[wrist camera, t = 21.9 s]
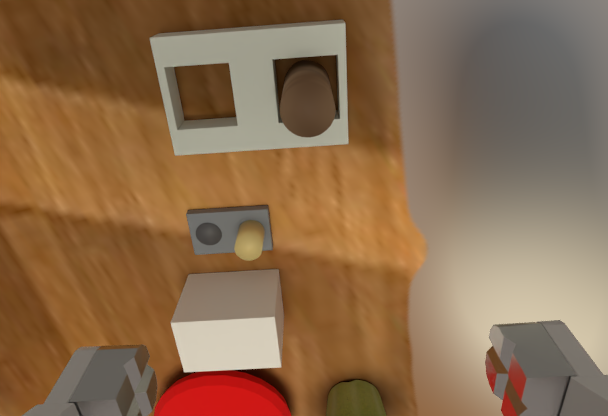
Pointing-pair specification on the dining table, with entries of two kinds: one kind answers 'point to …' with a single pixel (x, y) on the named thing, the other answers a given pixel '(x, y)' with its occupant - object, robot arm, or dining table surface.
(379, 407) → the plant pot
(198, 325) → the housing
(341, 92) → the peg board
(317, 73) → the peg
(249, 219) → the plate
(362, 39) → the dining table surface
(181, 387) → the red domed lid
